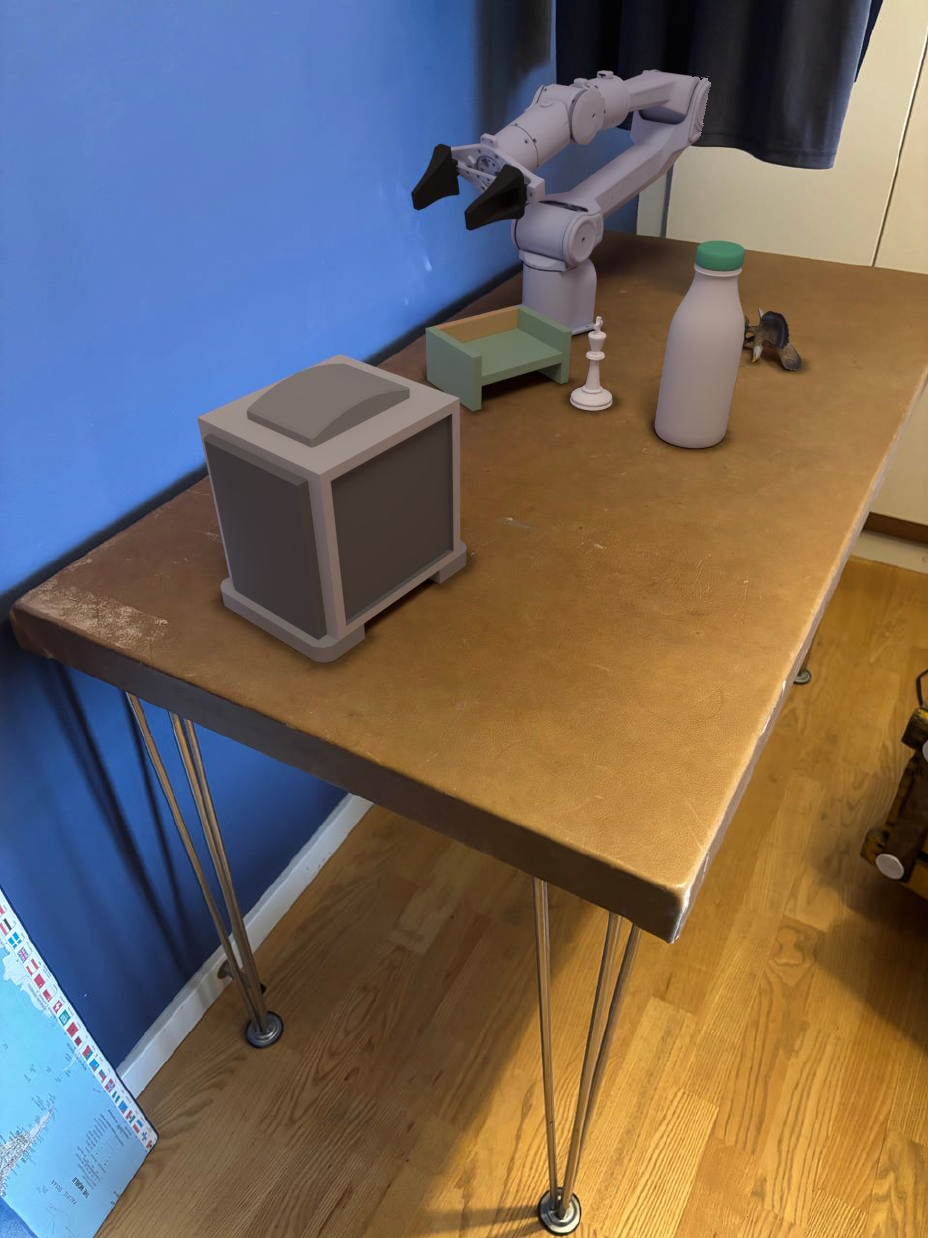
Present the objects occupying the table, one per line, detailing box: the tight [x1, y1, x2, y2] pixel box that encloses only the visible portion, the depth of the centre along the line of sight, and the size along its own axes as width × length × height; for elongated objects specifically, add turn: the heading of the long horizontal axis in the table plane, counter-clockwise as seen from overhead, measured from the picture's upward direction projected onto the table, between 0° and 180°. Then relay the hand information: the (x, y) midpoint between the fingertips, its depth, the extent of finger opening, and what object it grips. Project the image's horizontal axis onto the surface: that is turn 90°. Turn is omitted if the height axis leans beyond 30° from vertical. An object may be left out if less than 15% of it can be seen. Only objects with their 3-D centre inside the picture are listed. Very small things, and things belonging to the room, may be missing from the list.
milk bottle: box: [654, 240, 746, 449], centre depth 94 cm, size 8×8×20 cm
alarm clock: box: [196, 353, 468, 664], centre depth 74 cm, size 18×13×18 cm
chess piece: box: [569, 316, 613, 412], centre depth 103 cm, size 5×5×10 cm
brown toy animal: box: [742, 307, 803, 372], centre depth 114 cm, size 8×7×9 cm
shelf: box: [425, 303, 573, 412], centre depth 109 cm, size 14×10×6 cm
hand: (440, 211), depth 99 cm, fingers open, 7 cm apart
